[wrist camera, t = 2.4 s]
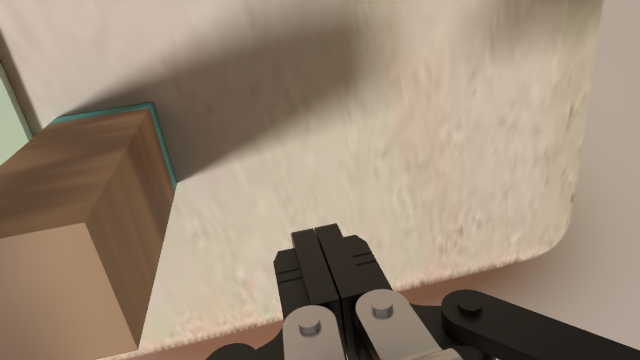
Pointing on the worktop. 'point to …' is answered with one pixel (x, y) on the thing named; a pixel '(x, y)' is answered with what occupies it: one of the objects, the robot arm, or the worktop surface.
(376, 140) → the worktop surface
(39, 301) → the walnut block
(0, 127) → the sage mat
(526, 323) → the robot arm
